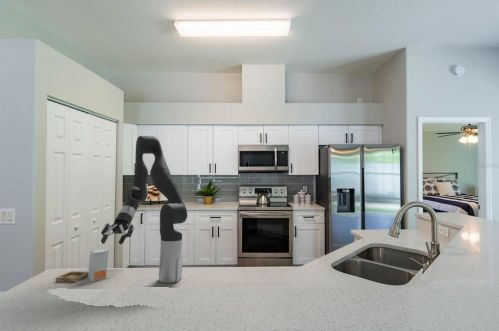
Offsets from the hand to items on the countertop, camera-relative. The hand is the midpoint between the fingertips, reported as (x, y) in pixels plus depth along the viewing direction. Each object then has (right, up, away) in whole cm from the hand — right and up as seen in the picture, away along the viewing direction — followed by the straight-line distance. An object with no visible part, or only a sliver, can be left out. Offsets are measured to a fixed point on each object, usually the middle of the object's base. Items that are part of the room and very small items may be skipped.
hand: (111, 243), depth 127 cm
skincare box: (-1, -13, -10) cm, 17 cm away
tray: (-11, -12, -11) cm, 20 cm away
